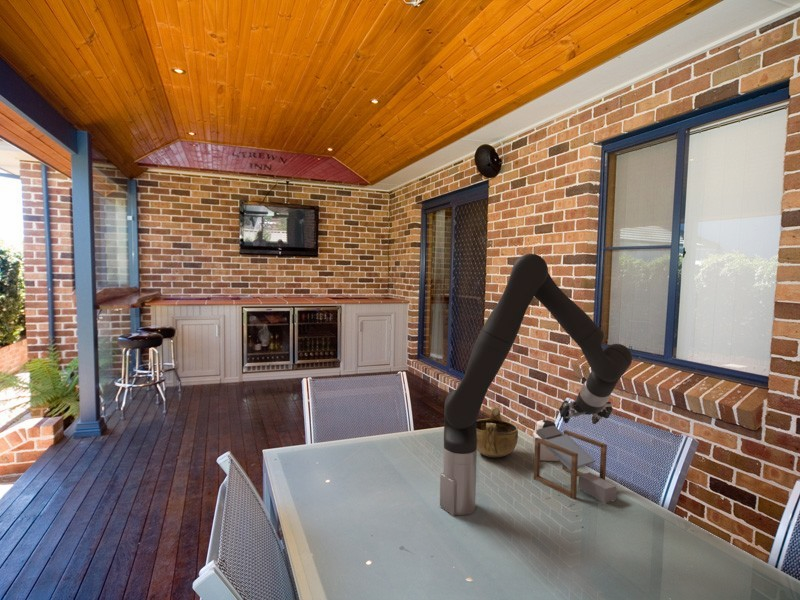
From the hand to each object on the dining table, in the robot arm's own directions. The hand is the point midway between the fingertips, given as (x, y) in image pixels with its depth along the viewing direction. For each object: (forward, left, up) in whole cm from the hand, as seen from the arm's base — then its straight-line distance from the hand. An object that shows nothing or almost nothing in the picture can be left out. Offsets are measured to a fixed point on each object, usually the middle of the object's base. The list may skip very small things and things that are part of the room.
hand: (579, 420), depth 141 cm
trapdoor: (-1, +5, -10) cm, 12 cm away
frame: (-1, +2, -21) cm, 21 cm away
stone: (+1, -2, -19) cm, 19 cm away
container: (+9, +20, -21) cm, 31 cm away
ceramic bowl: (-6, +31, -21) cm, 38 cm away
